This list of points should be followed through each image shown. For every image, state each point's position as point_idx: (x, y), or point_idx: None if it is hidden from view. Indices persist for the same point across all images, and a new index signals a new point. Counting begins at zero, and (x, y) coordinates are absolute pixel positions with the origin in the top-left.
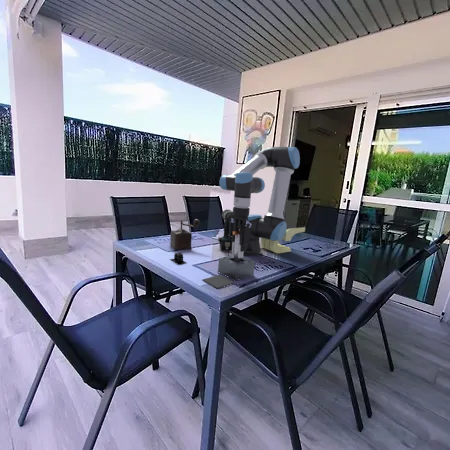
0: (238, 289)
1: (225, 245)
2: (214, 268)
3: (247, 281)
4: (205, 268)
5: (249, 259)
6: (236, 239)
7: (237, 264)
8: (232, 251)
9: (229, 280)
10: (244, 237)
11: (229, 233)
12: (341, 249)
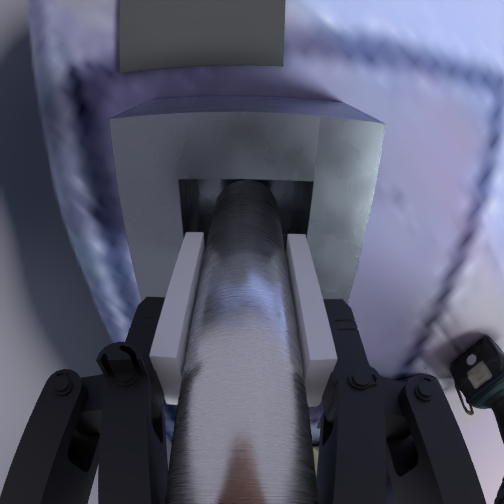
0: (58, 48)
1: (483, 364)
2: (402, 135)
3: (113, 164)
4: (436, 89)
5: None
6: (228, 420)
7: (134, 152)
8: (301, 261)
9: (163, 57)
10: (41, 468)
11: (457, 456)
12: None
